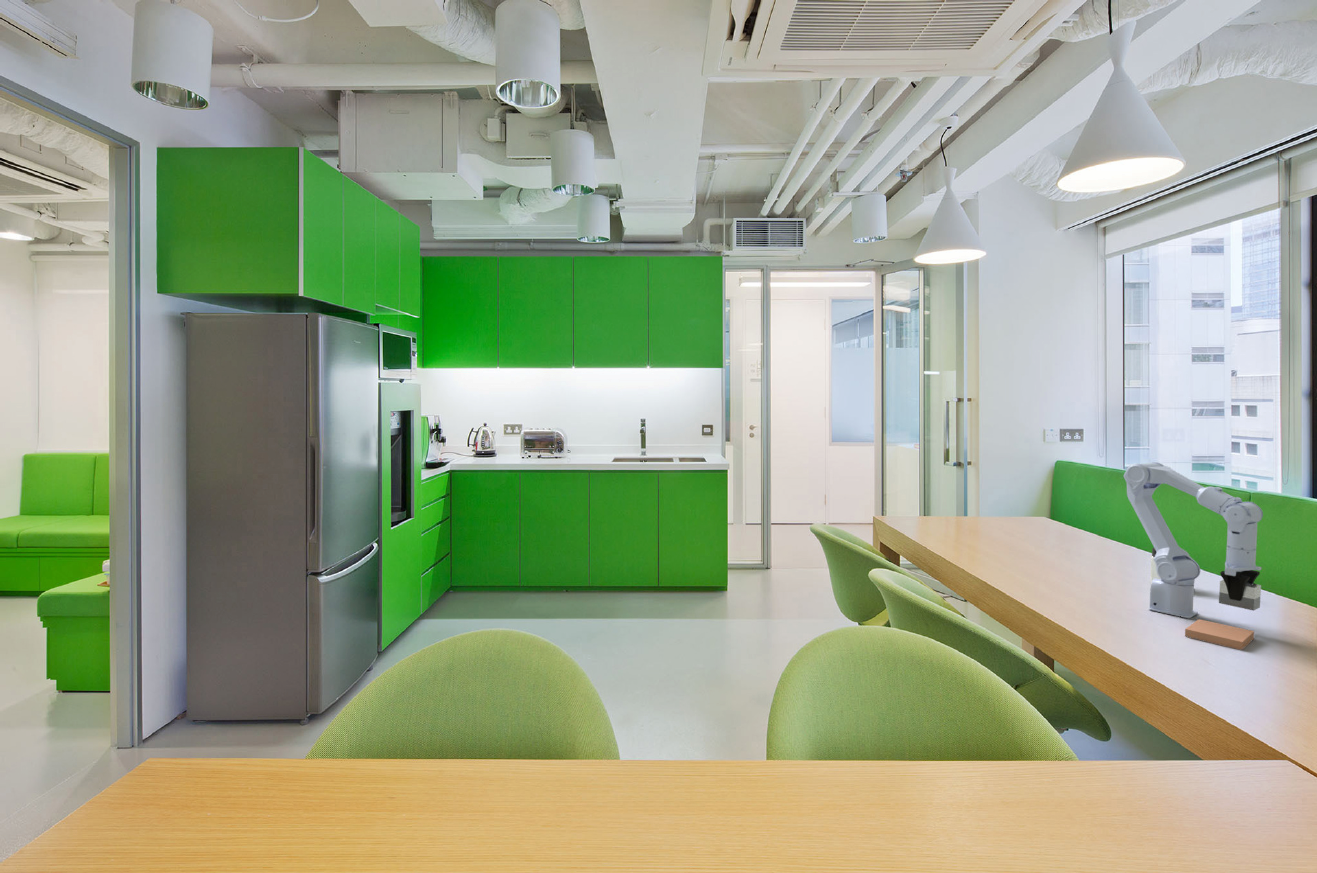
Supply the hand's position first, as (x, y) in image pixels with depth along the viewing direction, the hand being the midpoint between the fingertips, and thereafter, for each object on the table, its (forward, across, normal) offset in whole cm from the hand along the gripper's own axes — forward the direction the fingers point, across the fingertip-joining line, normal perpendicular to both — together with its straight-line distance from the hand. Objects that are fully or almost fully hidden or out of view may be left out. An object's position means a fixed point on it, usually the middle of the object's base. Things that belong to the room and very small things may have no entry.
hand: (1238, 598), depth 165 cm
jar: (+9, +32, +27) cm, 42 cm away
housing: (+2, 0, 0) cm, 2 cm away
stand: (+9, -11, 0) cm, 14 cm away
